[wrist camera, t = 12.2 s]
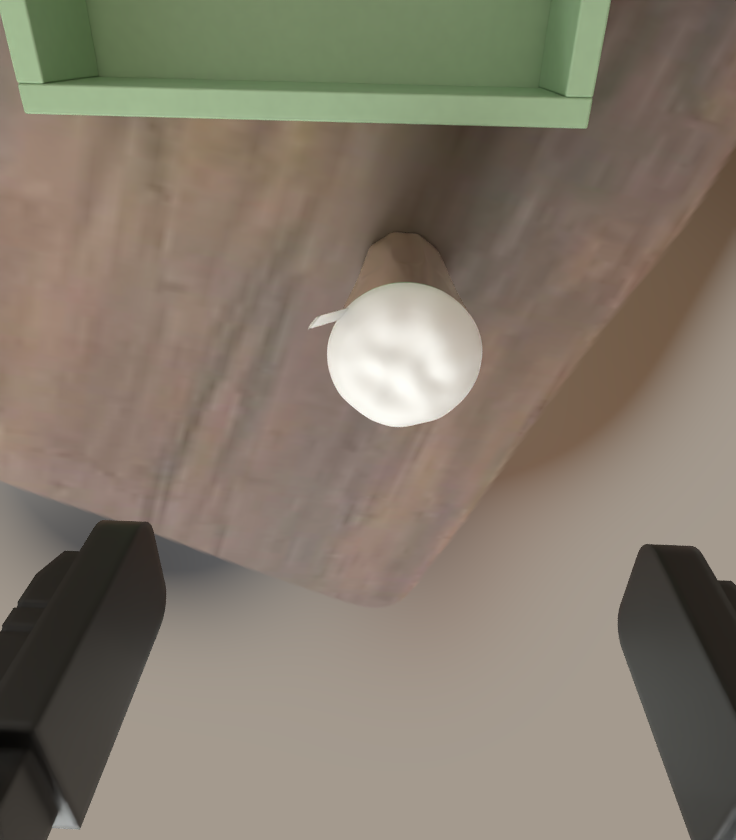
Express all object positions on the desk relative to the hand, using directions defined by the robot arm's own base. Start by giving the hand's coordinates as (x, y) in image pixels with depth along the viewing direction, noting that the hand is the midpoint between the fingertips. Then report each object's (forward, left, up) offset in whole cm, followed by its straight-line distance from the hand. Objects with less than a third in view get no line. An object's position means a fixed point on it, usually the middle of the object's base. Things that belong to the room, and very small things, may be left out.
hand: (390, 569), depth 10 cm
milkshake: (0, 0, -17) cm, 17 cm away
